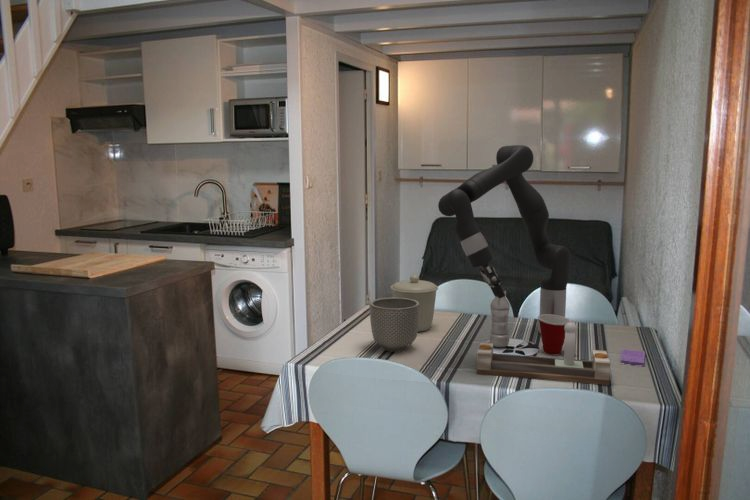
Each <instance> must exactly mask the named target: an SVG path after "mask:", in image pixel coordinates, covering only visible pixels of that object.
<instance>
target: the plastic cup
mask: <svg viewBox="0 0 750 500" xmlns="http://www.w3.org/2000/svg"><path fill="white" fill-rule="evenodd" d="M537 319H538V324H539V323H540V330H541V334H540V335H541V343H542V350H543V353H545V354H547V355H551V356H555V355H556V356H557V355H561V354H562V351H563V348H564V347H563V346H564V345H565V330H564V327H565V325H566V324H567V323H569V322H571V323H572V320H571V319H570V318H567V317H566V316H565V317H562V316H559V315H551V314H543V315H538V317H537Z"/></svg>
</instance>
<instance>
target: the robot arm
mask: <svg viewBox="0 0 750 500" xmlns="http://www.w3.org/2000/svg"><path fill="white" fill-rule="evenodd" d="M495 156H496V157H495V158H496V159H495V160H496V165H494V166H491V167H489V168H486V169H483V170H481V171H479V172H477V173H475V174H474V175H472V176H471V177H469V178H468V179H466V180H465V181H464V182H463V183H462V184H460V185H459V186H458V187H455V188H454V189H453V190H450V191H449V192H448V193H446V194H444V195H443V196H441V197H440V199H439V201H438V203H437V204H438V205H437V207H438V211H439V212H440V213H441V214H442V215H443V216H445V217H453V216H455V220H456V222H455V223H454V225H453V230H454V232H455V234H456V236H457V238H458V240H459V242H460V244H461V245H460V246H461V248H462V251H463V252H464V253H465V256H466V258H467V261H468V262H469V264H470V267H471V268H473V269H476V268H479V271H480V274H481V276H482V278H483V280H484V281H485V283H486V284H487V286H488V287H489V288H490V290H491V292H492V294H493V295H494V298H495V297H497V296H498V298H502V297H504V296H505V293H504V292H503V290H504V289H503V288H502V286H501V280H500V278H499V276H498V274H497V273H496V269H495V267H494V266H493V265H492V264H490V262H491V261H492V260H494V258H495V256H494V254H493V252H492V250H491V247H490V246H489V244H488V242H487V240H486V238H485V236H484V235H483V234H482V232H481V230H480V228H479V226H478V224H477V222H476V219H475V217H474V210H473V207H472V203H473V202H475V201H477V200H479V199H480V198H481V197H483V196H484V195H486V194H487V193H488V192H490V191H491V190H493V189H494V188H496V187H497V186H499V185H501V184H503V183H504V182H506V185H507V186H508V189H509V191H510V193H511V195H512V197H513V199H514V202H515V204H516V206H517V209H518V211H519V213H520V217H521V219H522V221H523V223H524V226H525V228H526V231H527V233H528V236H529V239H530V242H531V245H532V248H533V252H534V256H535V259H536V261H537V264H538V265H539V266H540V267H541V268H543V269H545V270H550V271H551V272H550V273H551V274H550V276H549V277H546V278H543V279H541V281H540V291H539V293H540V294H539V313H538V314H539V315H543V314H551V315H559V316H562V317H566V305H567V285H568V282H569V280H570V271H571V270H570V269H571V258H572V257H571V252H570V250H569V248H568V247H566V246H564V245H560V244H559V245H557V244H552V243H551V242H550V240H549V237H548V235H547V226H548V223H549V219H550V217H549V215H550V214H549V211H548V207H547V205H546V202H545V199H544V198H543V196H542V195H541V193H540V192H539V191H538V190H537V189H536V188H534V186H532V184H530V183H529V182H528V181H527V179H526V178H525V177H524V175H523V173H525V172H527V171H528V170H530V168H531V167H532V165H533V164H534V153H533V150H532V149H531V148H530V147H529V146H527V145H524V144H523V145H522V144H521V145H520V144H519V145H514V144H513V145H504V146H501V147H500V148H498V151H497V152H496V155H495ZM505 297H506V296H505ZM539 315H538V316H539ZM538 334H540V335H541V330H540V323H539V322H538Z"/></svg>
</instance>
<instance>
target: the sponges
mask: <svg viewBox="0 0 750 500" xmlns="http://www.w3.org/2000/svg"><path fill="white" fill-rule="evenodd" d="M645 353H646V352H645V351H644V350H643V351H641V350H630V349H623V348H622V351H621V357H620V363H624V364H623V365H626V364H631V365H630V366H635V365H642V366H641V367H645V357H646V356H645Z"/></svg>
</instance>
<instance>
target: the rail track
mask: <svg viewBox="0 0 750 500" xmlns="http://www.w3.org/2000/svg"><path fill="white" fill-rule="evenodd" d="M555 359H558V360H564V357H563V358H561V357H560V358H559V357H548V356H536V355H522V354H521V355H520V354H509V353H508V354H507V353H494V346H493V343H490V341H488V342H487V341H481V342H480V343H479V345H478V349H477V353H476V375H485V376H497V377H507V378H508V377H509V378H518V379H519V378H521V379H533V380H534V379H535V380H544V381H558V382H568V383H569V382H570V383H578V384H579V383H580V384H593V385H603V386H604V385H605V386H606V385H607V386H610V376H611V360H610V358H609V356H608V352H607V350H602V349H601V350H598V349H591V360H587V359H575V358H574V361H582V363H583V368H584V369H582V368H569V367H557V366H555Z"/></svg>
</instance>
